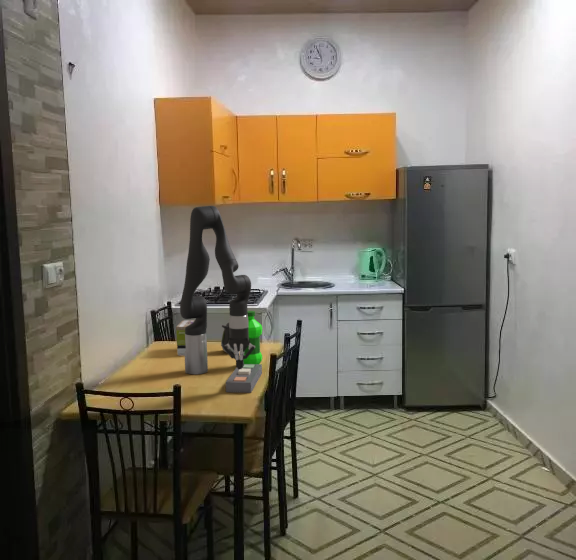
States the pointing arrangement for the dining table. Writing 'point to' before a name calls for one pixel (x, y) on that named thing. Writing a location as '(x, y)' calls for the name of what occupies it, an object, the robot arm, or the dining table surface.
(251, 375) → the button panel
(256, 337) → the plastic bottle
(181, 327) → the tea box
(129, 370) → the dining table surface
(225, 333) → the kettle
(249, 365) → the green button
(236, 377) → the terracotta button
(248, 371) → the cream button
